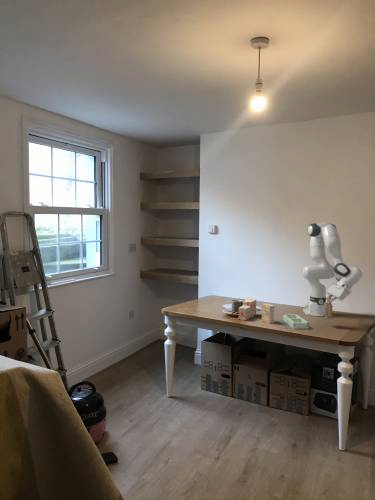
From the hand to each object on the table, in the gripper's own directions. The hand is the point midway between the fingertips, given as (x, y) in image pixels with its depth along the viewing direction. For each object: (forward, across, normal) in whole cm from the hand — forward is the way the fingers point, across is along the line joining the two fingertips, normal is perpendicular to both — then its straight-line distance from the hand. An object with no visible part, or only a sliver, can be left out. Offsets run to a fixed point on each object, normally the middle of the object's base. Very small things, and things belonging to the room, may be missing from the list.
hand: (328, 300), depth 266 cm
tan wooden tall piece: (+8, 0, +9) cm, 12 cm away
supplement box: (+41, -11, -14) cm, 45 cm away
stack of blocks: (+50, -26, -22) cm, 60 cm away
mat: (+28, -5, -2) cm, 28 cm away
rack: (+28, -5, -2) cm, 28 cm away
